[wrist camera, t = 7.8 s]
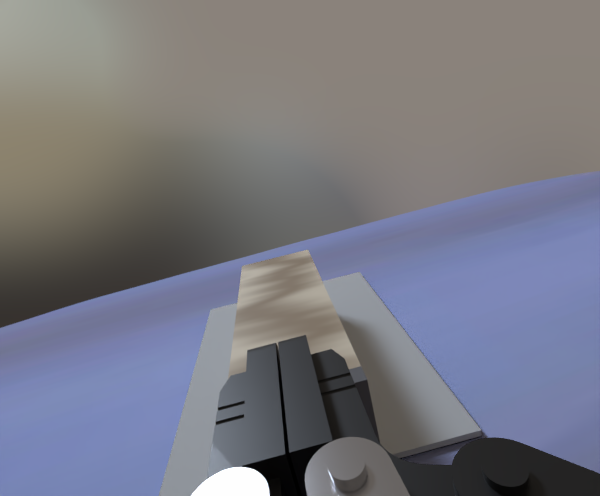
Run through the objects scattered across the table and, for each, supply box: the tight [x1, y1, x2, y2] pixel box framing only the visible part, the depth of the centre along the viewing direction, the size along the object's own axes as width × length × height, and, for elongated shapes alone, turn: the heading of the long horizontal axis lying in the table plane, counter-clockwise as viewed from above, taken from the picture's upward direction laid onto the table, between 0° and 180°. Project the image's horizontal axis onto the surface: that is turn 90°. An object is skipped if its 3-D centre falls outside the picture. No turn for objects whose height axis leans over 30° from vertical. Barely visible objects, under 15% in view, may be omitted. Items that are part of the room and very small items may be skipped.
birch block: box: [228, 250, 380, 442], centre depth 21 cm, size 5×5×16 cm
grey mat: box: [159, 272, 482, 496], centre depth 25 cm, size 14×20×1 cm
